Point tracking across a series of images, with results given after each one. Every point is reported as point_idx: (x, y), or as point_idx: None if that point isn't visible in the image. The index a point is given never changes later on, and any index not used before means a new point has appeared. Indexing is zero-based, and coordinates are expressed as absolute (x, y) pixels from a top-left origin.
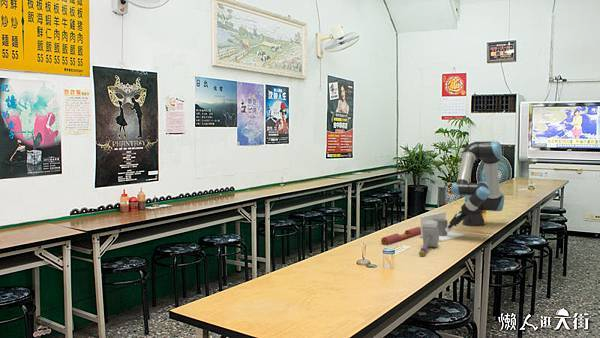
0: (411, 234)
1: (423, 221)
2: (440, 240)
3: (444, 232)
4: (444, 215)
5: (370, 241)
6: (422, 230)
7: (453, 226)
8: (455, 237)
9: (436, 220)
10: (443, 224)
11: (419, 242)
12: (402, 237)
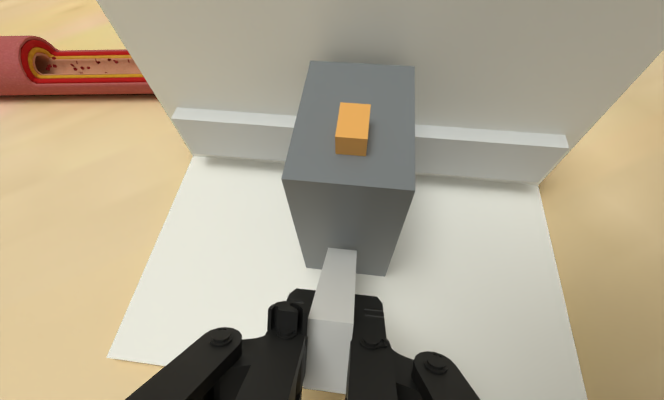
0: None
1: (133, 37)
2: (119, 332)
3: None
4: (631, 46)
5: (12, 15)
6: (170, 113)
7: (316, 383)
8: None
9: (303, 96)
10: (307, 211)
11: (32, 207)
12: (59, 85)
